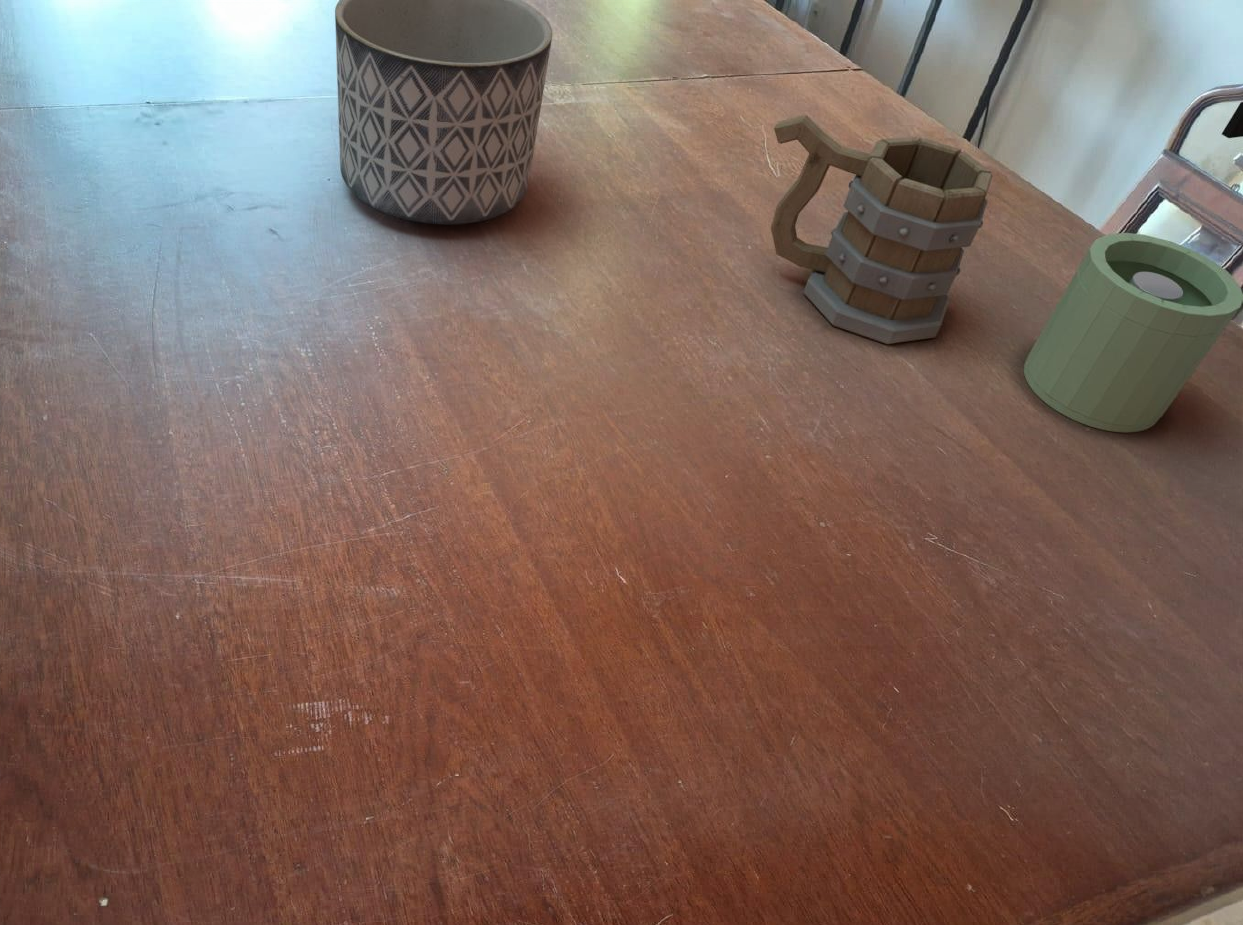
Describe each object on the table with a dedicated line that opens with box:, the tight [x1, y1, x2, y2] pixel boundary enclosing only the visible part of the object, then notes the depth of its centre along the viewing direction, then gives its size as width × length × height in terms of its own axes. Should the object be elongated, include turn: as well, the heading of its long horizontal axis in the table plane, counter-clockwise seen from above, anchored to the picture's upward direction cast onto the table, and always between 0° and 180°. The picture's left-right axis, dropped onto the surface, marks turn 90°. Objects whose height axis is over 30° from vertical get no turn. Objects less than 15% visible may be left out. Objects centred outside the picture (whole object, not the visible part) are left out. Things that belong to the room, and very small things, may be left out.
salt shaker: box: [1129, 272, 1183, 303], centre depth 90 cm, size 4×4×10 cm
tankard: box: [770, 114, 993, 345], centre depth 96 cm, size 20×13×15 cm, turn 65°
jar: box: [1023, 232, 1243, 434], centre depth 90 cm, size 12×12×12 cm
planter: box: [334, 0, 553, 225], centre depth 100 cm, size 19×19×16 cm
